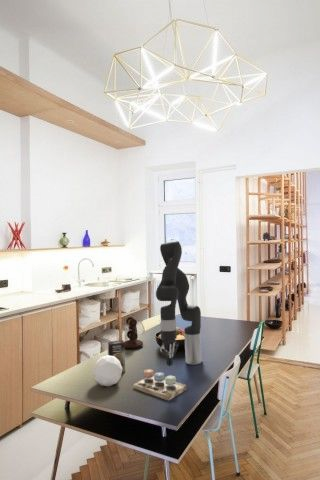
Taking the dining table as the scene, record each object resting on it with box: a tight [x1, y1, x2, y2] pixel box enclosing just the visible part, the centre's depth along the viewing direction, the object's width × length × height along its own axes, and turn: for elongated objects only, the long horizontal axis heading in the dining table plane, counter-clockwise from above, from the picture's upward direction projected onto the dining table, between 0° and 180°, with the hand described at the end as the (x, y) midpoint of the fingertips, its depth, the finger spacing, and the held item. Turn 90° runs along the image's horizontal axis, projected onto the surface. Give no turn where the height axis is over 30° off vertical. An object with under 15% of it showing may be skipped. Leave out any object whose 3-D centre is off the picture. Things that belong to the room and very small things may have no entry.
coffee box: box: [107, 339, 126, 373], centre depth 187 cm, size 9×6×16 cm
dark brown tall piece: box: [123, 316, 144, 351], centre depth 229 cm, size 15×15×20 cm
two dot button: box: [143, 369, 155, 379], centre depth 165 cm, size 5×5×2 cm
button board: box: [132, 377, 188, 401], centre depth 161 cm, size 14×22×3 cm, turn 50°
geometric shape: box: [92, 354, 123, 387], centre depth 169 cm, size 14×15×15 cm
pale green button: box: [164, 375, 177, 385], centre depth 156 cm, size 5×5×2 cm
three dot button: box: [154, 372, 166, 382], centre depth 161 cm, size 5×5×2 cm
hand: (169, 365), depth 157 cm, fingers closed
